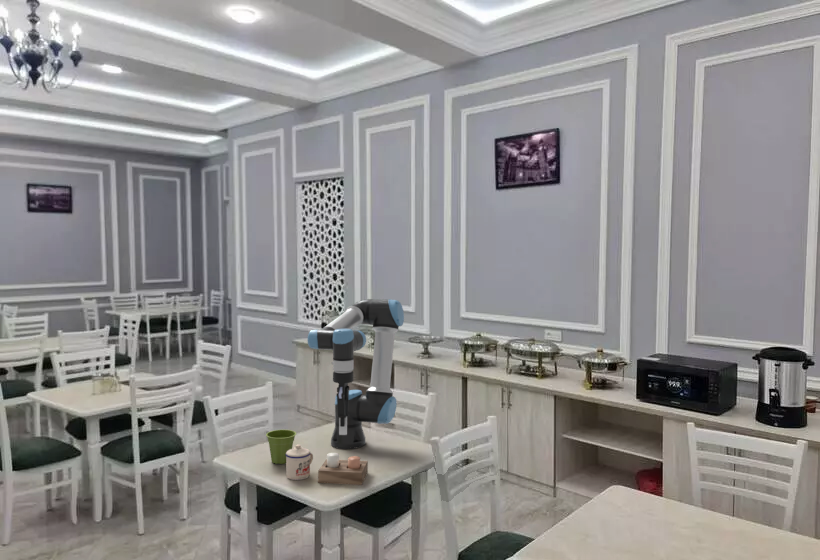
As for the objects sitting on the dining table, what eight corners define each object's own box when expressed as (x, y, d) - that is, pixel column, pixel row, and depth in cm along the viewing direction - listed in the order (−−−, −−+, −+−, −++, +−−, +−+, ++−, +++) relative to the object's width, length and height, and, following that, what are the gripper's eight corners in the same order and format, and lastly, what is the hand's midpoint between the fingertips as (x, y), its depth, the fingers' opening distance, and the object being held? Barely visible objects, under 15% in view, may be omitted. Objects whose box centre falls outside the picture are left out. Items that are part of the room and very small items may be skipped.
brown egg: (349, 471, 215) (349, 455, 215) (361, 472, 215) (361, 456, 214) (347, 476, 211) (347, 460, 210) (358, 476, 210) (358, 460, 210)
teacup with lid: (297, 482, 208) (297, 450, 208) (280, 476, 213) (280, 445, 213) (320, 472, 218) (321, 442, 218) (303, 467, 223) (303, 437, 223)
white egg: (328, 468, 216) (328, 452, 216) (340, 468, 215) (340, 452, 215) (325, 472, 211) (325, 456, 211) (337, 473, 211) (337, 456, 211)
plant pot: (285, 468, 222) (285, 439, 222) (259, 464, 227) (259, 435, 226) (302, 458, 233) (302, 431, 233) (277, 454, 238) (277, 427, 237)
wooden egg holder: (326, 470, 220) (326, 459, 220) (367, 472, 218) (367, 461, 218) (318, 482, 208) (318, 470, 208) (361, 484, 206) (361, 472, 206)
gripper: (336, 367, 219) (336, 428, 219) (329, 374, 206) (329, 439, 206) (356, 367, 218) (355, 429, 219) (350, 374, 205) (350, 440, 206)
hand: (343, 434), depth 213 cm, fingers closed
